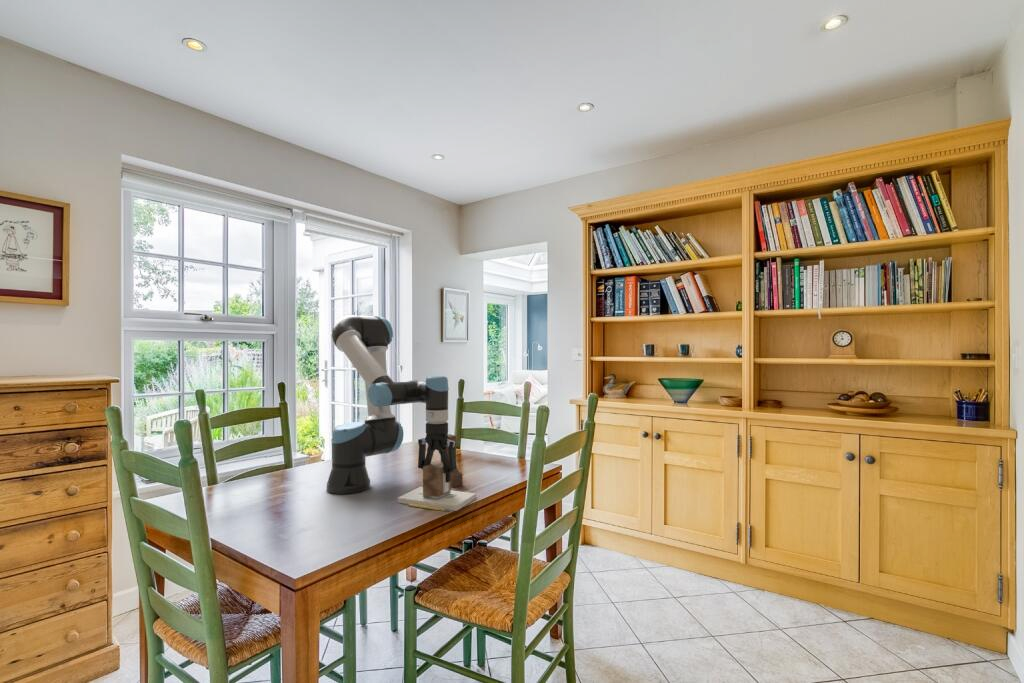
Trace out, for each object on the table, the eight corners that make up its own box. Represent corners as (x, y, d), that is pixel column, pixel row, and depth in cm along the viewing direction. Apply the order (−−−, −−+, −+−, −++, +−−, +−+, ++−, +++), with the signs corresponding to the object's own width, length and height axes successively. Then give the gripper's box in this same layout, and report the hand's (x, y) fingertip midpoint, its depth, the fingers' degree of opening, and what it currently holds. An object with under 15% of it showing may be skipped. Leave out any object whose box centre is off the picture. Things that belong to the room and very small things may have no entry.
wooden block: (462, 485, 182) (463, 437, 182) (452, 487, 179) (452, 438, 179) (450, 480, 189) (450, 434, 189) (440, 482, 186) (440, 435, 186)
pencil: (408, 506, 158) (408, 503, 158) (409, 505, 159) (409, 503, 159) (448, 512, 153) (448, 509, 153) (449, 511, 154) (449, 508, 154)
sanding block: (422, 497, 162) (422, 467, 162) (435, 490, 169) (435, 461, 170) (438, 499, 160) (438, 468, 160) (450, 492, 167) (450, 463, 167)
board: (397, 502, 162) (397, 497, 162) (420, 491, 175) (420, 486, 175) (456, 510, 154) (456, 505, 154) (475, 498, 167) (475, 493, 167)
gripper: (406, 422, 165) (406, 490, 165) (456, 425, 158) (456, 496, 158) (418, 419, 172) (418, 484, 172) (467, 421, 165) (467, 490, 165)
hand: (436, 490), depth 165 cm, fingers closed on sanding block, 6 cm apart
